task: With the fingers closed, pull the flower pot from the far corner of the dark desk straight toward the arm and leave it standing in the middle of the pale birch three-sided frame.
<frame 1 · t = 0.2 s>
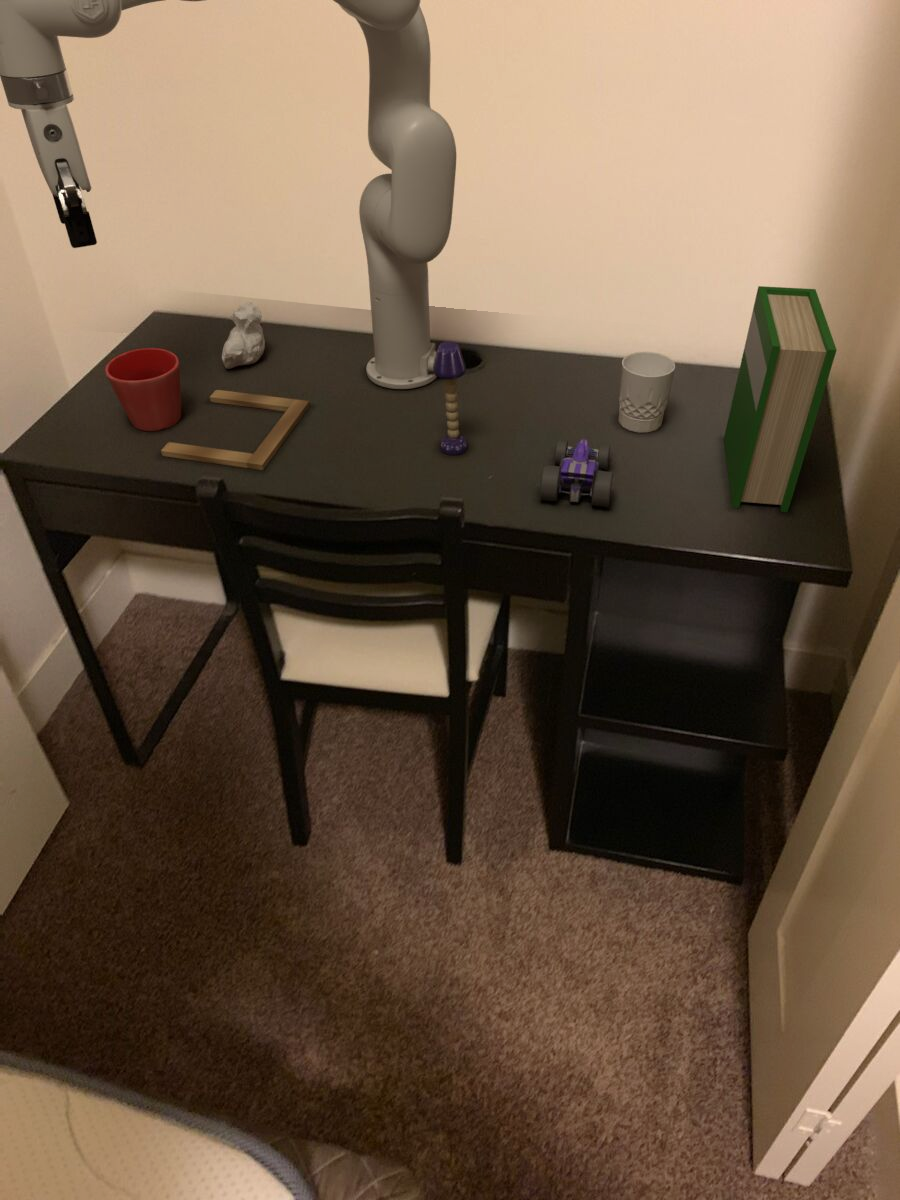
hand: (78, 233, 118), 31 cm above the table, tool pointing down, fingers open, 9 cm apart
flower pot: (157, 420, 143), on the table
toy lamp: (451, 448, 136), on the table
frame: (231, 429, 140), on the table
toy race car: (578, 480, 129), on the table
hardback book: (753, 475, 129), on the table
white cup: (639, 423, 140), on the table
bust: (248, 361, 157), on the table
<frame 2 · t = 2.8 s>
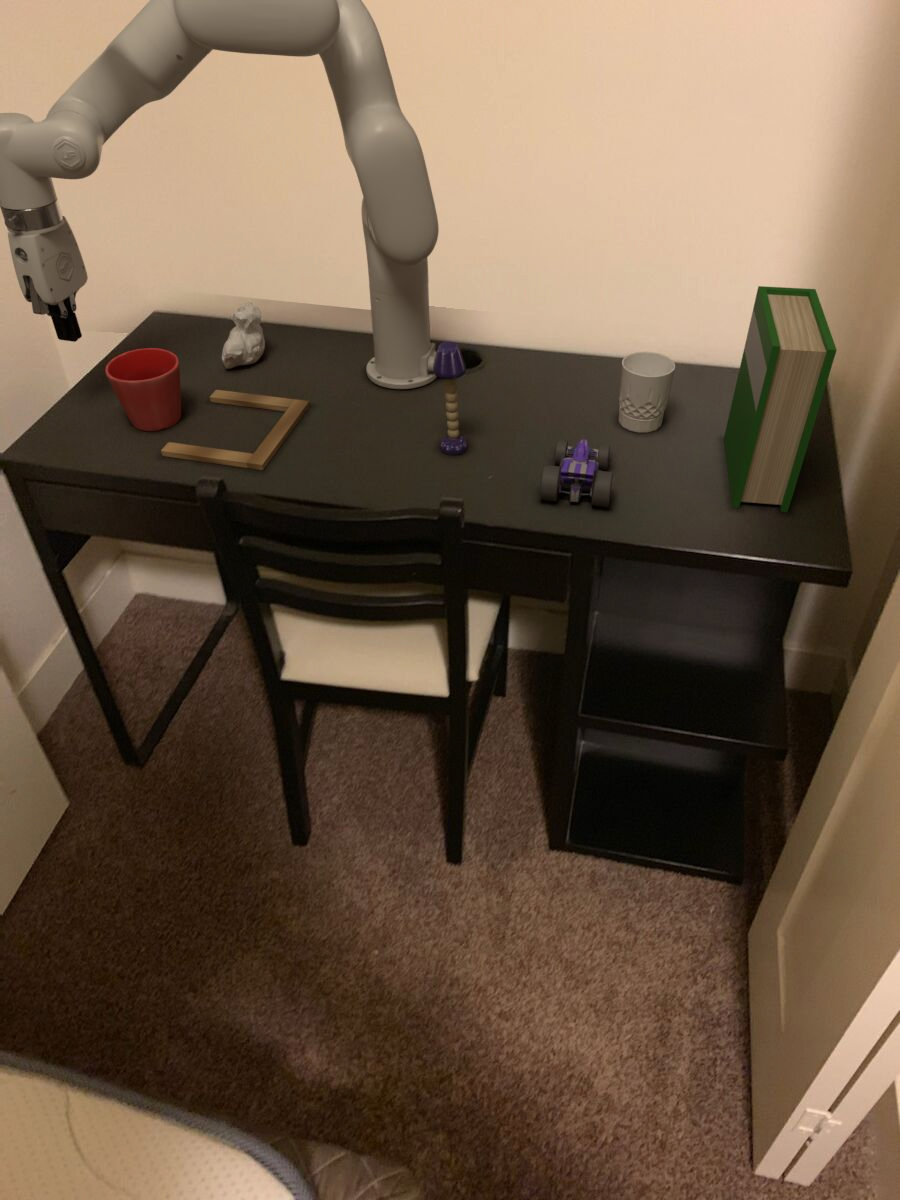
hand: (70, 338, 136), 13 cm above the table, tool pointing down, fingers closed
nothing on the table moved.
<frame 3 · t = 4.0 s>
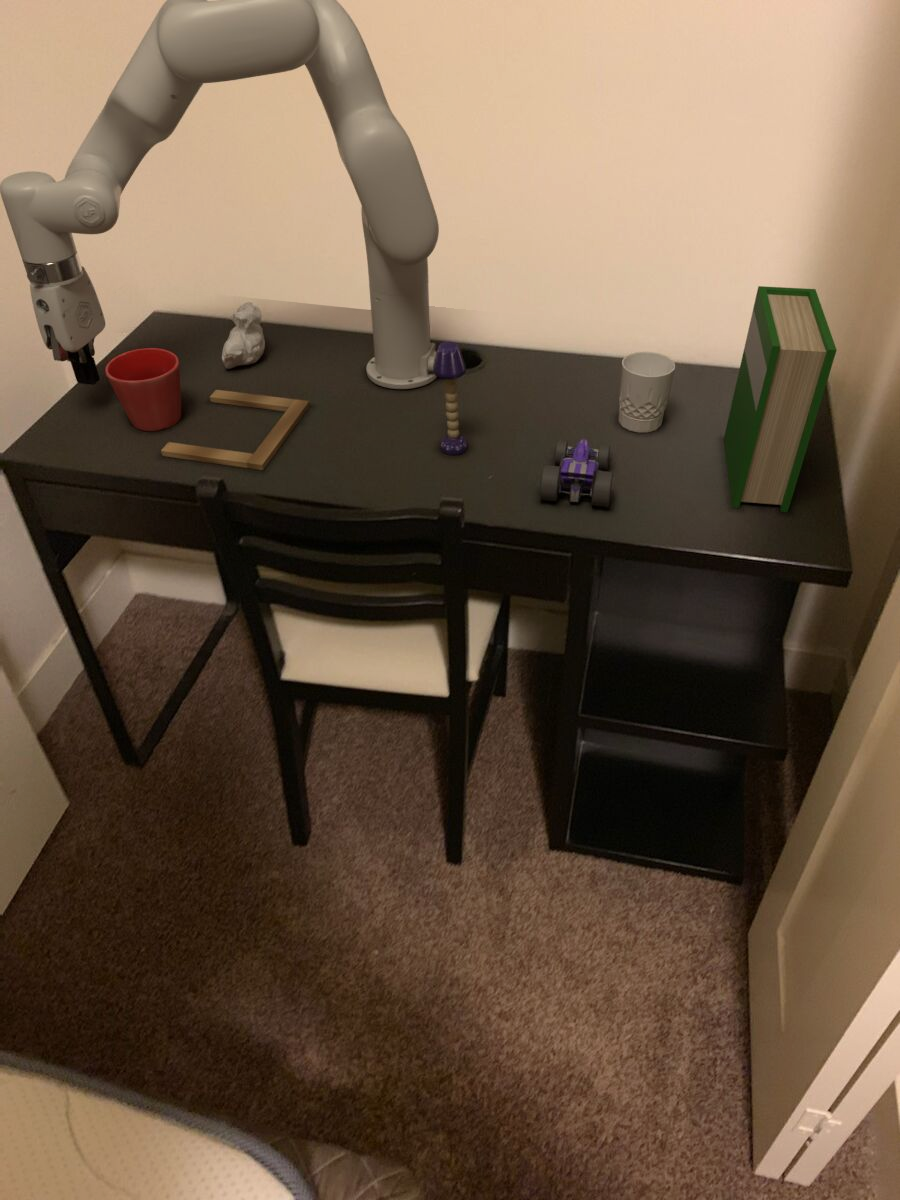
hand: (88, 381, 141), 5 cm above the table, tool pointing down, fingers closed
nothing on the table moved.
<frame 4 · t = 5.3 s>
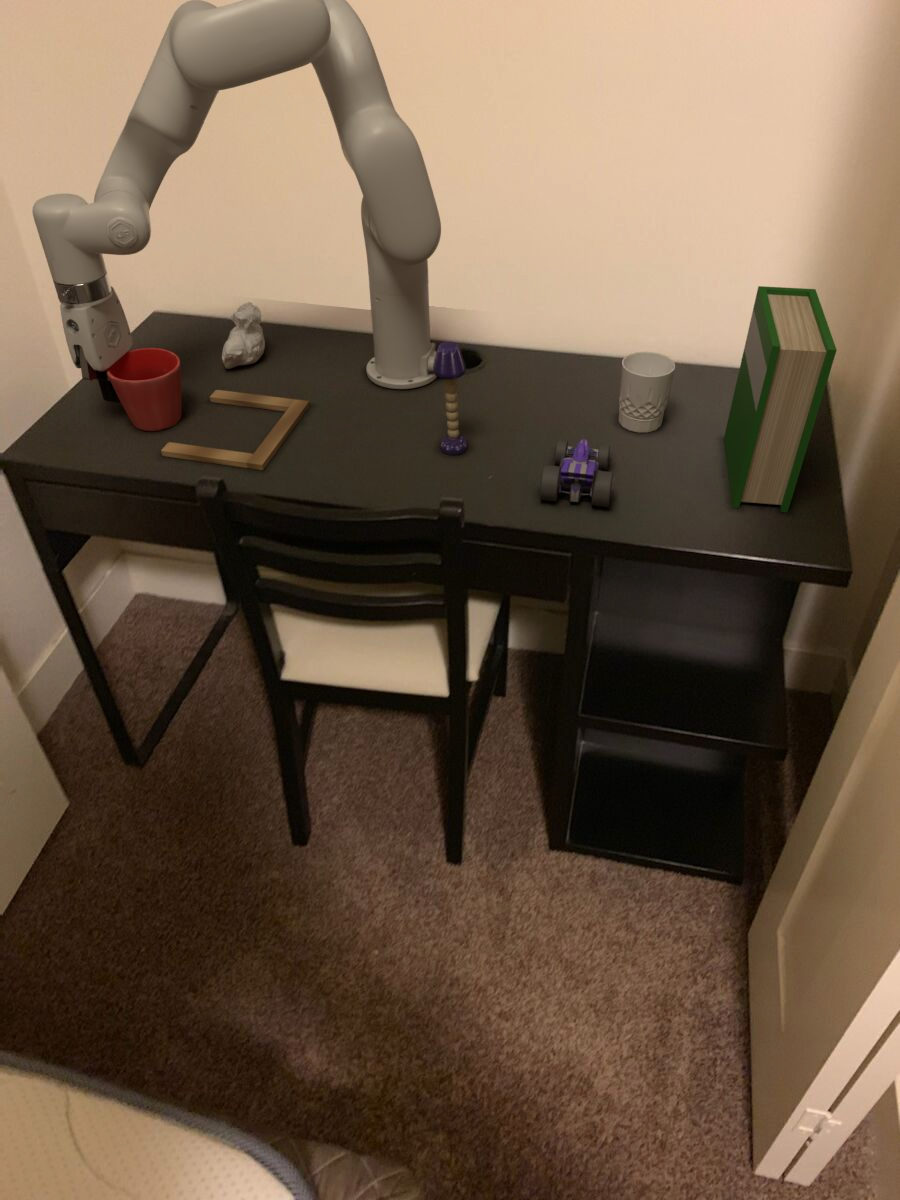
hand: (115, 399, 142), 3 cm above the table, tool pointing down, fingers closed
flower pot: (157, 420, 143), on the table, touching gripper
everything else where it was.
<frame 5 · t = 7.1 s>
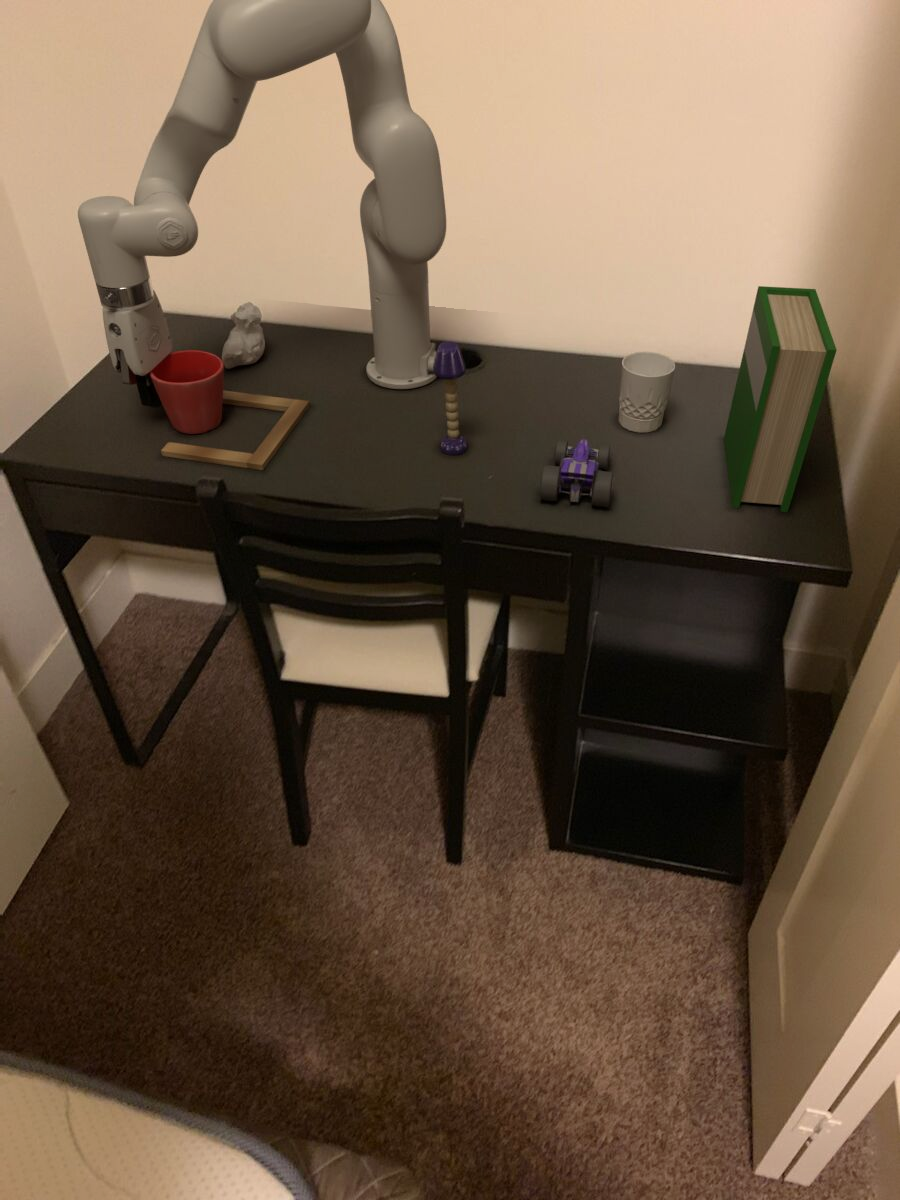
hand: (153, 404, 140), 3 cm above the table, tool pointing down, fingers closed
flower pot: (197, 423, 142), on the table, touching gripper
everything else where it was.
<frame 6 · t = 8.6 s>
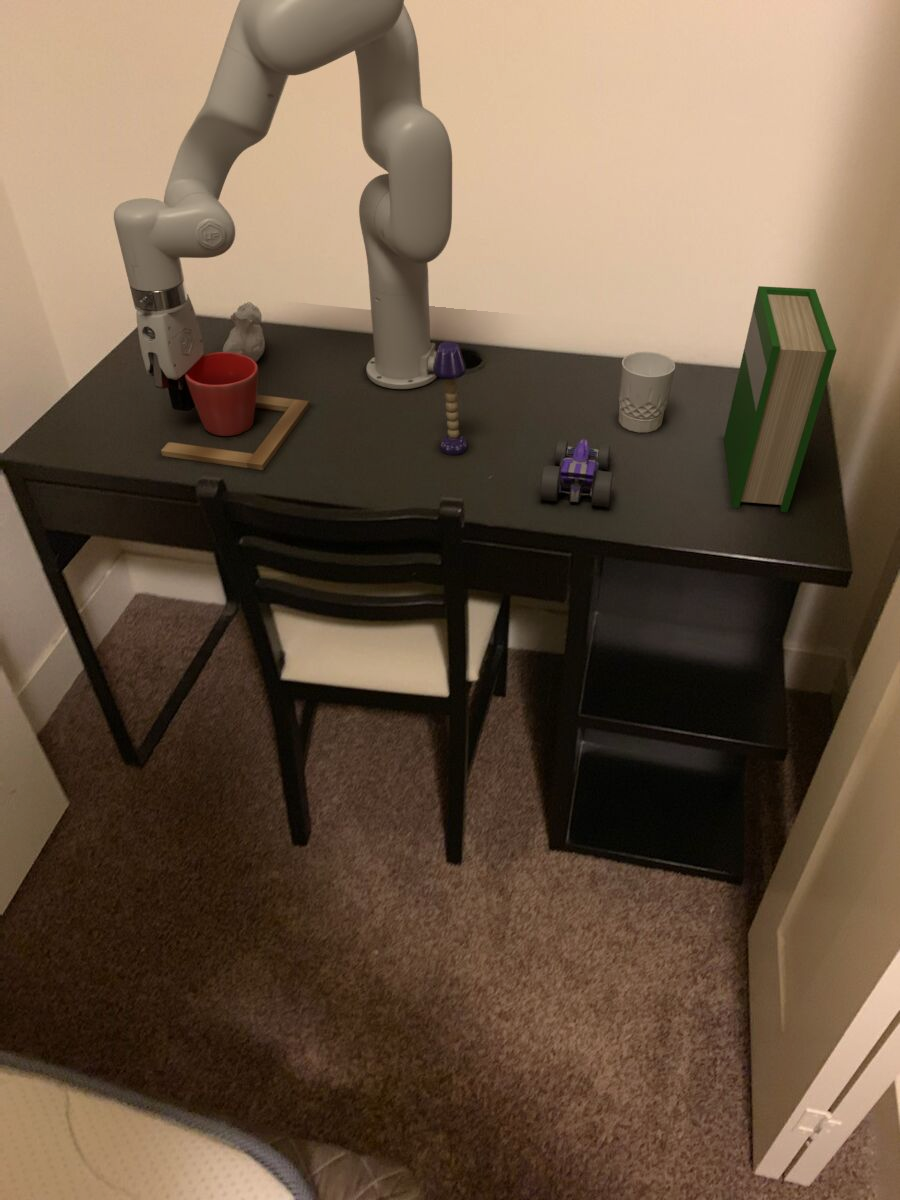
hand: (184, 408, 139), 3 cm above the table, tool pointing down, fingers closed
flower pot: (229, 425, 141), on the table, touching gripper
everything else where it was.
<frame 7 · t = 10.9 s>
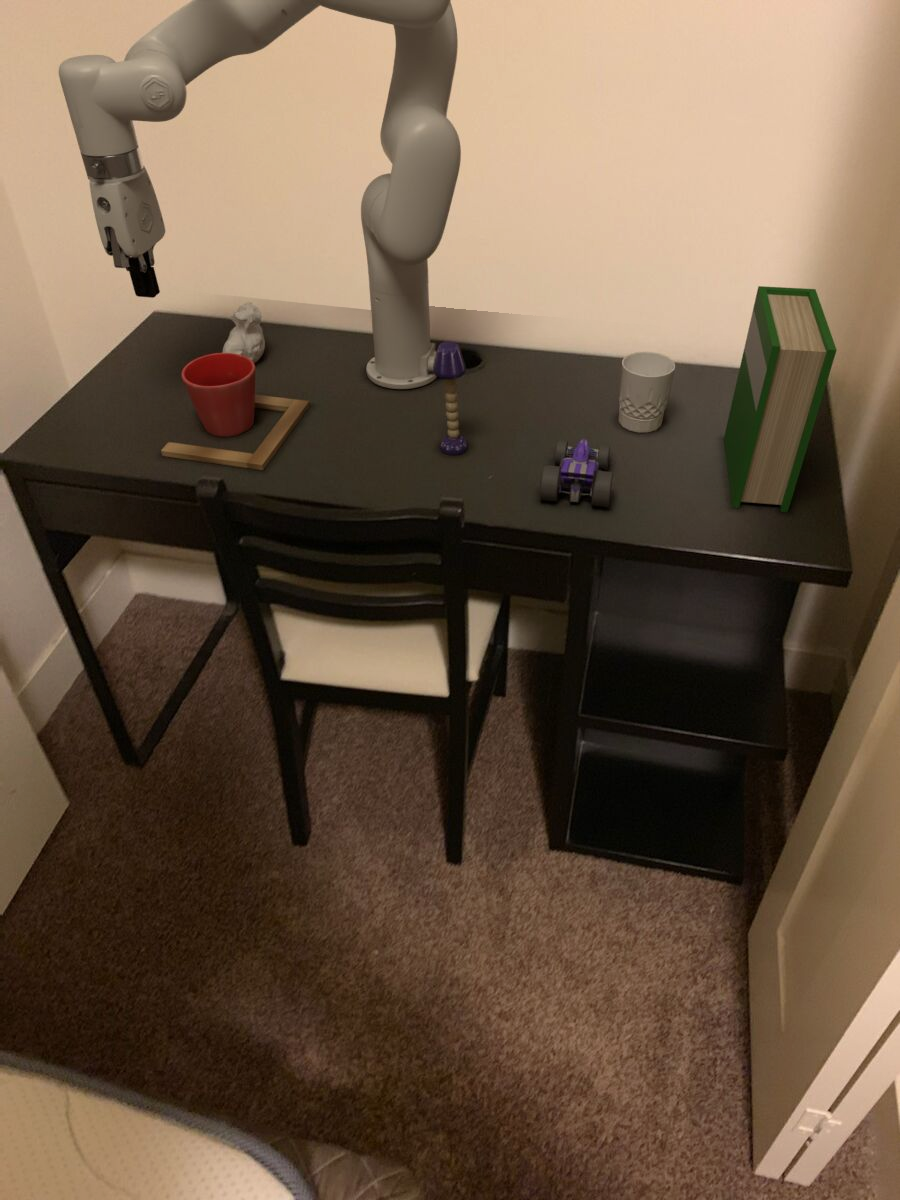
hand: (148, 294, 132), 19 cm above the table, tool pointing down, fingers closed
flower pot: (229, 425, 141), on the table
everything else where it was.
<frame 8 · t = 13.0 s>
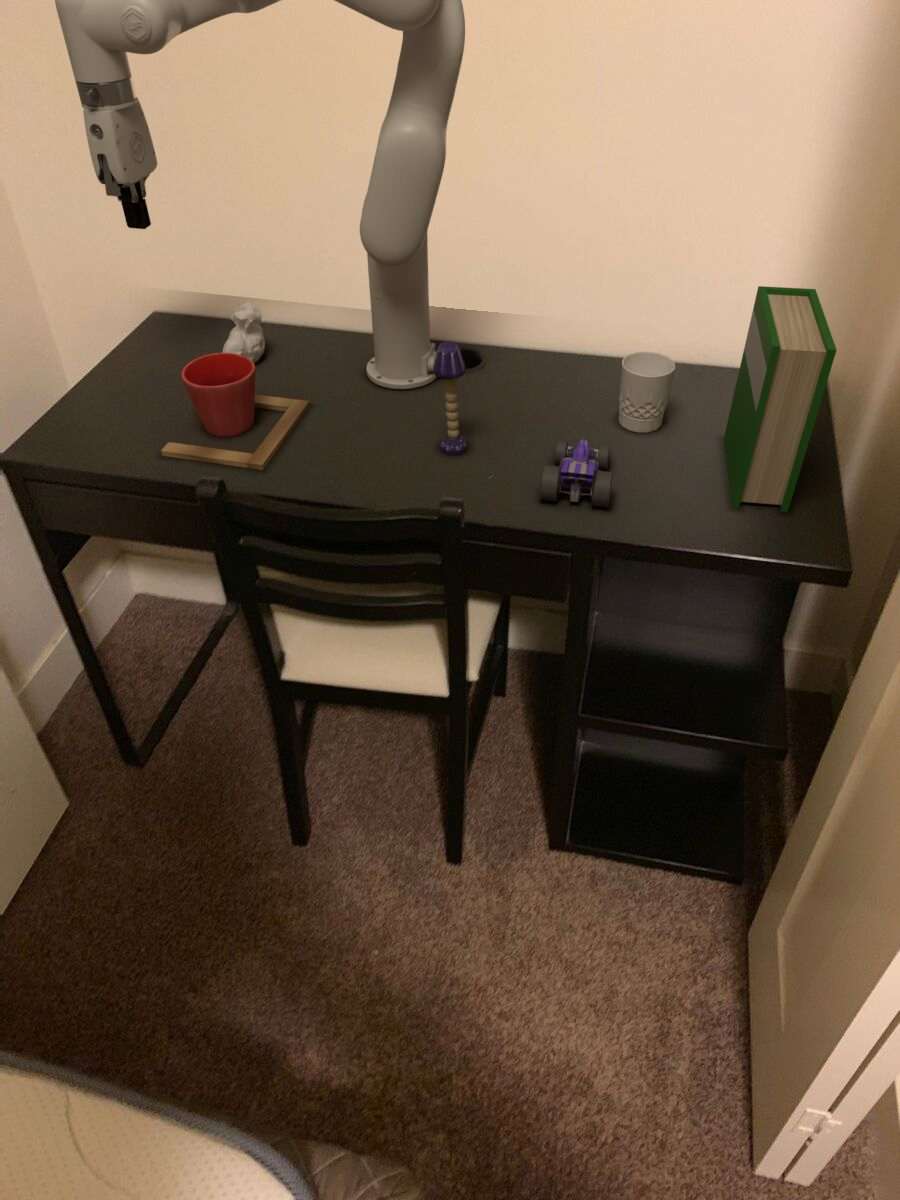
hand: (139, 226, 137), 25 cm above the table, tool pointing down, fingers closed
nothing on the table moved.
at the end: flower pot 1.7 cm off-centre on the frame, point 0.0 cm above the frame's base; flower pot tilted 0° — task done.
